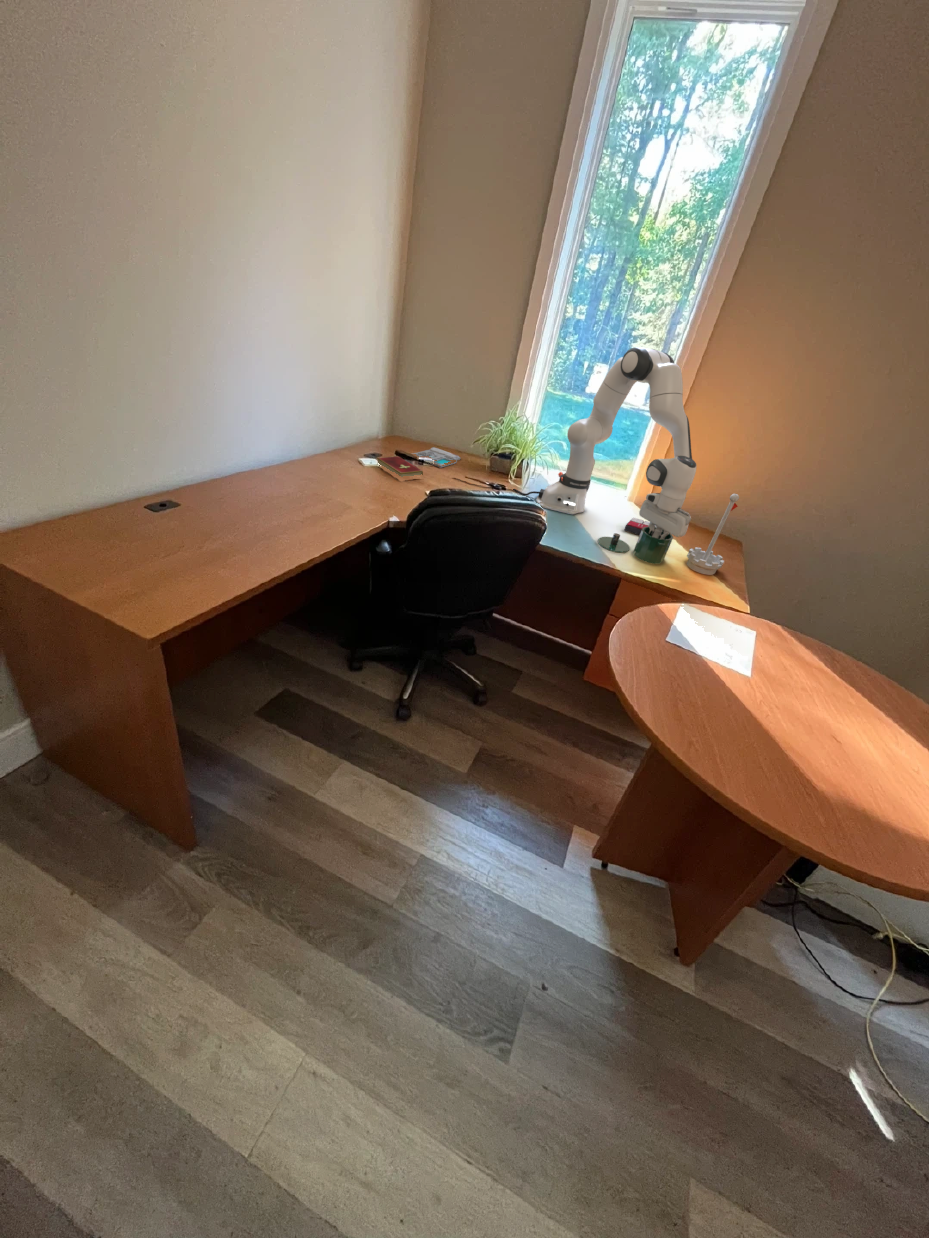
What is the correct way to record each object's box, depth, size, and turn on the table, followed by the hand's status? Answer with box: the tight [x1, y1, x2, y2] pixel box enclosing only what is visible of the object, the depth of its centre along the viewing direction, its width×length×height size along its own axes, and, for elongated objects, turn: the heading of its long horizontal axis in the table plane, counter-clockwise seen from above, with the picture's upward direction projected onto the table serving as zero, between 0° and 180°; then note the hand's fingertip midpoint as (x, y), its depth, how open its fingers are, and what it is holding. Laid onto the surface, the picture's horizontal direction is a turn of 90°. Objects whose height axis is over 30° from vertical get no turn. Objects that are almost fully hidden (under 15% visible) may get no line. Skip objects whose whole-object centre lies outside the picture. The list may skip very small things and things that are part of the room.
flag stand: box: [686, 493, 740, 576], centre depth 182 cm, size 13×13×30 cm
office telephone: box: [412, 446, 461, 469], centre depth 253 cm, size 23×3×20 cm
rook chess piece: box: [652, 526, 663, 538], centre depth 185 cm, size 4×4×8 cm
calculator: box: [624, 517, 656, 537], centre depth 210 cm, size 11×4×15 cm
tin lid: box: [597, 532, 630, 554], centre depth 193 cm, size 13×13×5 cm
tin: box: [632, 525, 674, 565], centre depth 188 cm, size 12×17×10 cm
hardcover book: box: [376, 455, 424, 477], centre depth 227 cm, size 12×21×4 cm, turn 39°
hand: (655, 537), depth 186 cm, fingers closed on rook chess piece, 3 cm apart
